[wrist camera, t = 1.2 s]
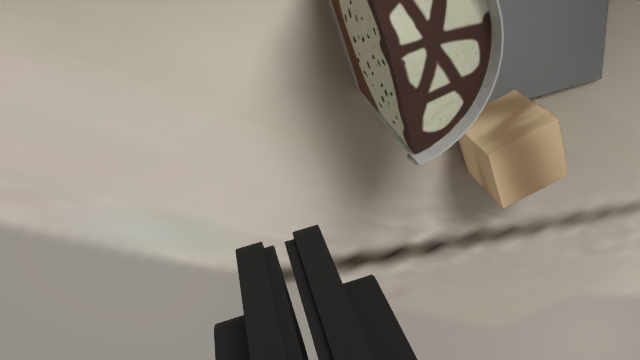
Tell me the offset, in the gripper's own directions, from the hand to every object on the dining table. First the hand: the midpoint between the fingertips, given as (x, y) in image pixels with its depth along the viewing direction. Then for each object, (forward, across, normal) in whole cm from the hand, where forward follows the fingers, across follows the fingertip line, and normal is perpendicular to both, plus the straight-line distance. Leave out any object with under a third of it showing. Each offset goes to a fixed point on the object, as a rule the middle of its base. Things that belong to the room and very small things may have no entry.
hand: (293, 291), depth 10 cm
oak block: (+23, -17, +11) cm, 30 cm away
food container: (+23, -10, 0) cm, 25 cm away
